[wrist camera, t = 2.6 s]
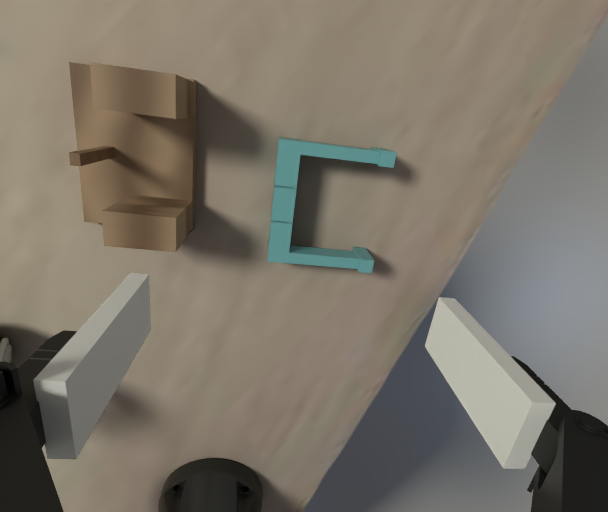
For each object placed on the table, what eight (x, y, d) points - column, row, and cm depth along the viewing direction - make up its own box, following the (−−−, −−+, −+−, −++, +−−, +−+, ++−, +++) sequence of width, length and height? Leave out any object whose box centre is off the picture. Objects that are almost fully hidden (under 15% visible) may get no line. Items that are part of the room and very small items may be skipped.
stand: (196, 80, 35) (175, 71, 28) (194, 228, 40) (176, 254, 33) (76, 64, 34) (20, 49, 26) (90, 218, 39) (46, 243, 32)
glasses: (385, 148, 39) (396, 152, 35) (363, 259, 43) (371, 273, 40) (278, 135, 37) (279, 137, 34) (267, 251, 42) (267, 264, 38)
